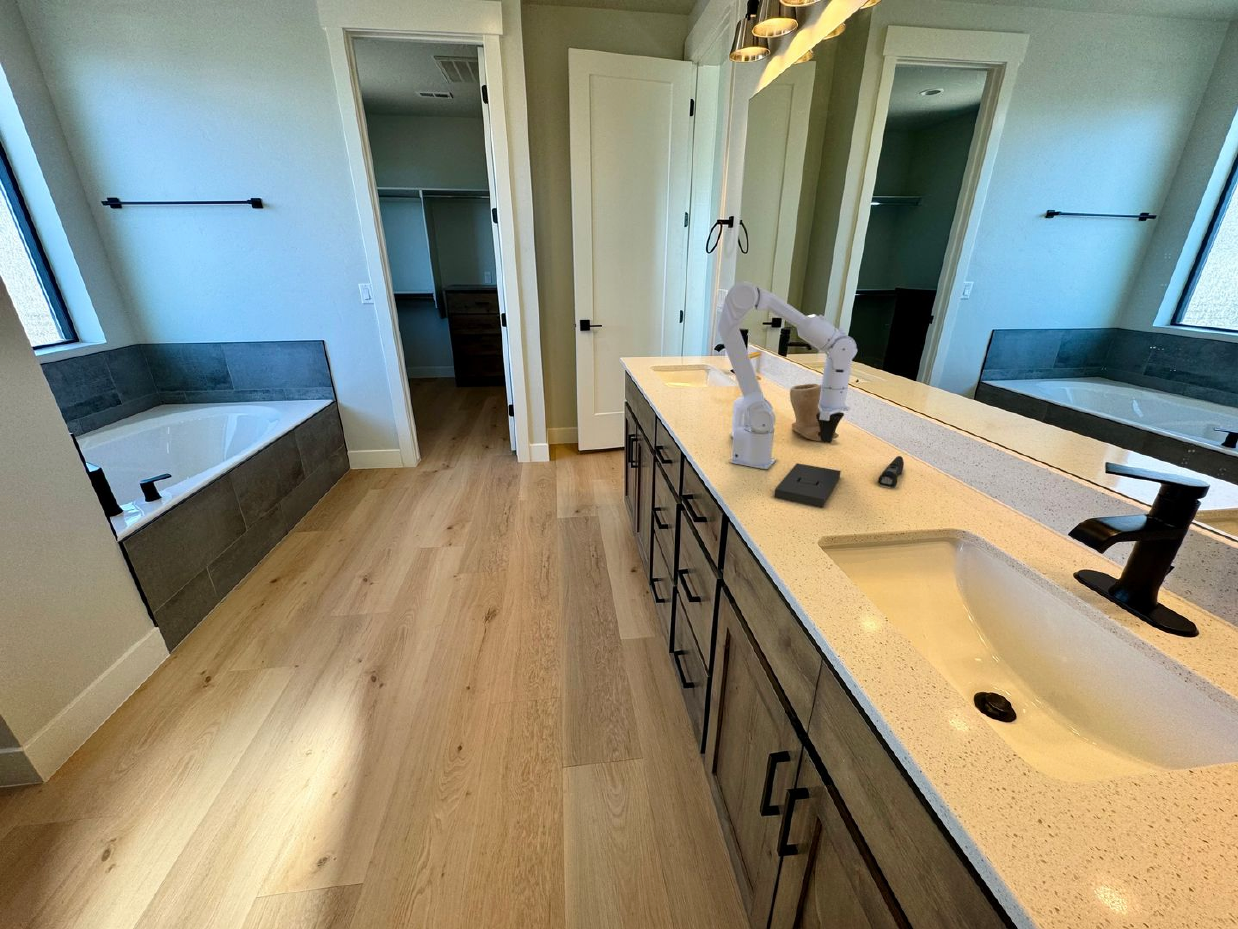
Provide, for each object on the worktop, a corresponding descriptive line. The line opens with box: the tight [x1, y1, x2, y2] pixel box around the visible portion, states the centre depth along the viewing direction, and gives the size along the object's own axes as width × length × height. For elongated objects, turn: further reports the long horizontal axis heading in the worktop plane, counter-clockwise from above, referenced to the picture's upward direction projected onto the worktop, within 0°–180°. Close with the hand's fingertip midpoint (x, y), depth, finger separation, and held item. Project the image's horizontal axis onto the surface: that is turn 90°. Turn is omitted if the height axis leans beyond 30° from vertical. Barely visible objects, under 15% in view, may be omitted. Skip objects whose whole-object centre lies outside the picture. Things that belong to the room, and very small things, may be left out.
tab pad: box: [786, 462, 842, 492], centre depth 113 cm, size 10×11×2 cm
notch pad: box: [773, 474, 833, 509], centre depth 106 cm, size 10×9×2 cm
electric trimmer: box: [877, 455, 905, 489], centre depth 115 cm, size 4×16×3 cm, turn 143°
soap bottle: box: [730, 351, 762, 438], centre depth 140 cm, size 9×9×25 cm
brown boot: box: [789, 383, 840, 442], centre depth 143 cm, size 15×12×15 cm
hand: (826, 441), depth 120 cm, fingers closed
